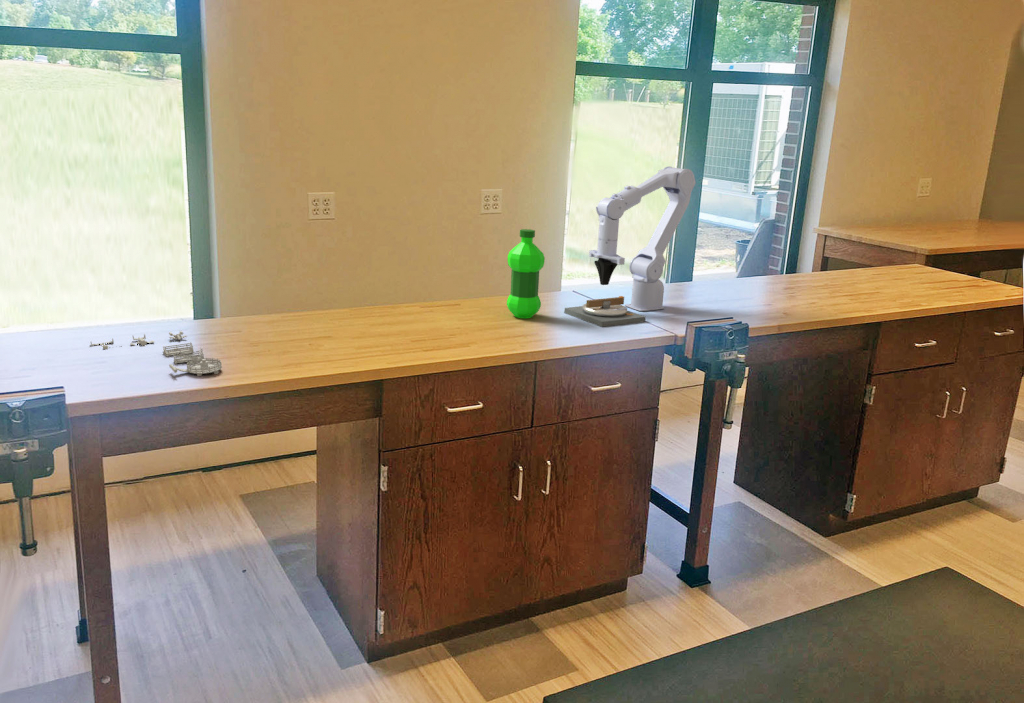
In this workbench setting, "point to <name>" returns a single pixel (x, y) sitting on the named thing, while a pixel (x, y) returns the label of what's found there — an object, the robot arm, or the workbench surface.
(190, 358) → the drone parts
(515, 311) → the plastic bottle
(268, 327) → the workbench surface
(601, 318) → the stand plate
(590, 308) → the dial
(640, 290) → the robot arm
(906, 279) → the workbench surface
